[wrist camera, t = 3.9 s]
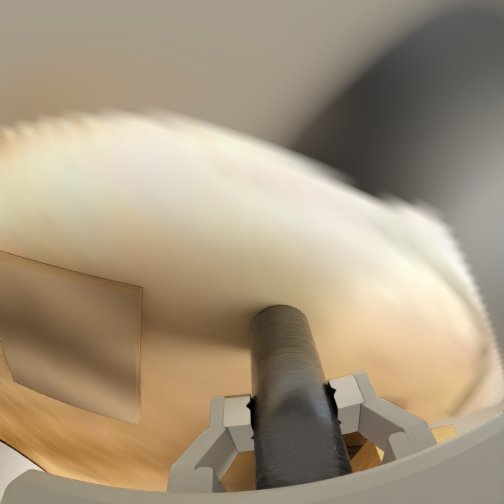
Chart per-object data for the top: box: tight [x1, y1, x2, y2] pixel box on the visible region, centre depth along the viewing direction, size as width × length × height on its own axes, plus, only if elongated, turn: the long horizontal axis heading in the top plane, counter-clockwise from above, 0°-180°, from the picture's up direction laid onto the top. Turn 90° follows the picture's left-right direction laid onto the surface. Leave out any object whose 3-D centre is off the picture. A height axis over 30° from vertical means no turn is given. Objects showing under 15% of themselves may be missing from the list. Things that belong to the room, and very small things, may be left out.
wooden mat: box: [0, 251, 143, 425], centre depth 15 cm, size 10×10×1 cm
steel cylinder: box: [250, 305, 353, 490], centre depth 11 cm, size 3×3×10 cm
